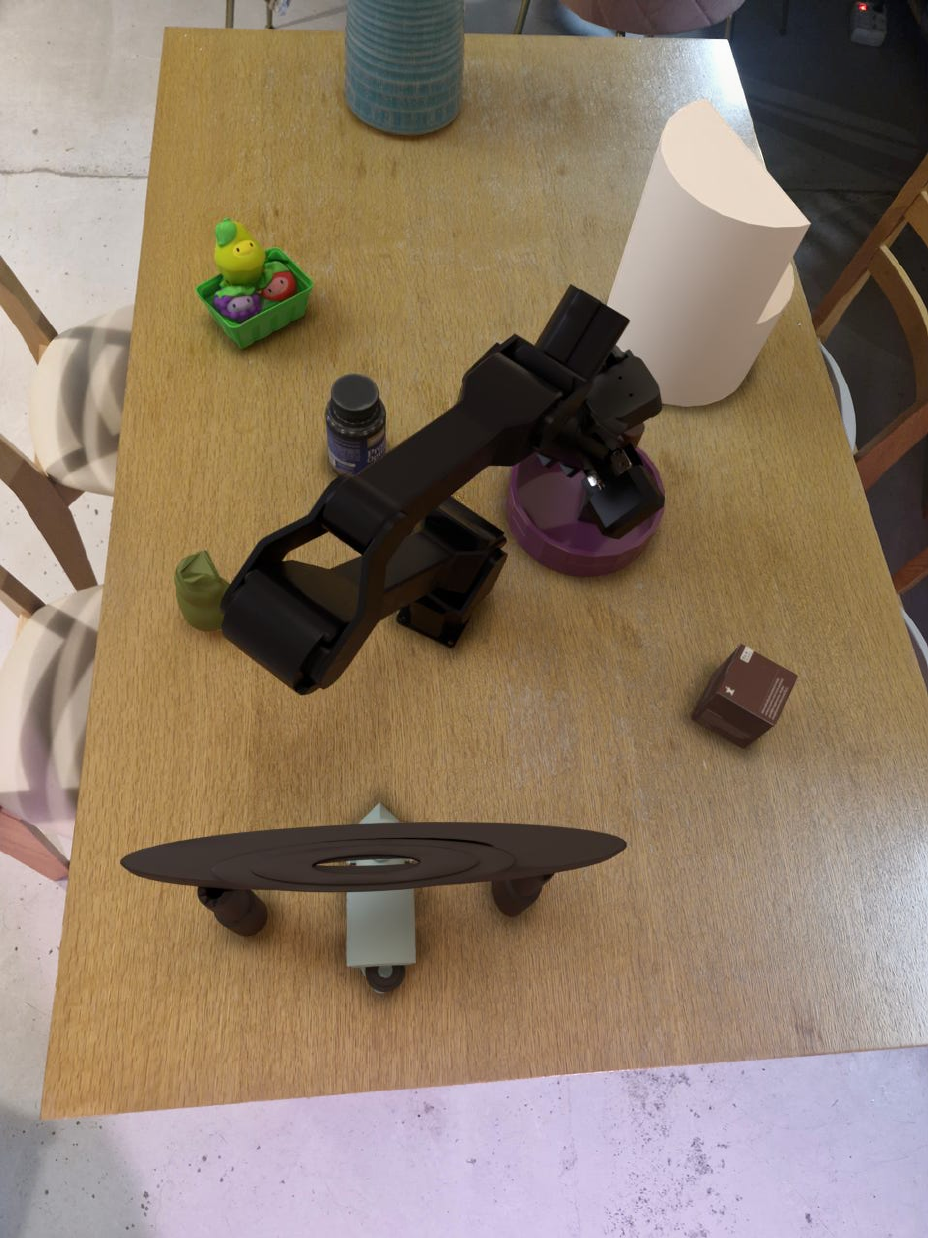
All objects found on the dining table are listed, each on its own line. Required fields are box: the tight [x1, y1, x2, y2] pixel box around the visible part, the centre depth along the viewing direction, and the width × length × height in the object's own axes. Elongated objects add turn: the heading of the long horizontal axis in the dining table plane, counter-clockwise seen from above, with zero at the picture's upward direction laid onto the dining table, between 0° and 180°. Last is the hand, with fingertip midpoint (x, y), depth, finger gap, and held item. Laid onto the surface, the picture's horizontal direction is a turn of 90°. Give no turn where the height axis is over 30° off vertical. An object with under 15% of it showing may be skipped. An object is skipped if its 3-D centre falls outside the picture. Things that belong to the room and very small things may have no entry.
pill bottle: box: [324, 373, 387, 476], centre depth 87 cm, size 6×6×11 cm
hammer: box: [578, 422, 646, 524], centre depth 86 cm, size 6×4×13 cm, turn 169°
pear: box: [173, 549, 231, 633], centre depth 78 cm, size 6×5×10 cm
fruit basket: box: [195, 216, 315, 350], centre depth 95 cm, size 11×9×11 cm
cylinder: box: [606, 97, 812, 408], centre depth 92 cm, size 19×19×25 cm
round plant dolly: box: [119, 802, 628, 995], centre depth 64 cm, size 16×21×33 cm
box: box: [690, 643, 799, 750], centre depth 80 cm, size 6×6×7 cm
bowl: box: [504, 445, 666, 578], centre depth 90 cm, size 16×16×4 cm
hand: (626, 461), depth 86 cm, fingers closed on hammer, 2 cm apart
